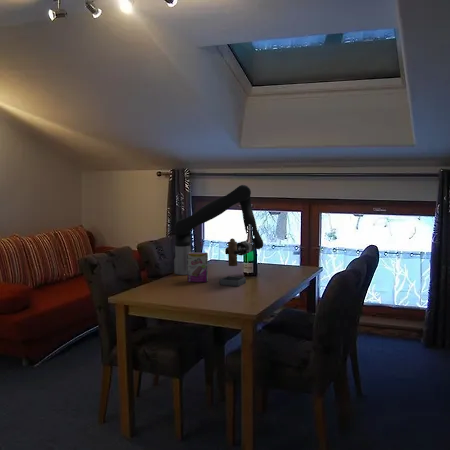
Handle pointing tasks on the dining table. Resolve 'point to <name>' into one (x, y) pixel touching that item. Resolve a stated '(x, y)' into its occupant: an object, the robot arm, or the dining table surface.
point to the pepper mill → (232, 252)
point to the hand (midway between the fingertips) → (230, 252)
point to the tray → (232, 281)
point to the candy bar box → (197, 267)
